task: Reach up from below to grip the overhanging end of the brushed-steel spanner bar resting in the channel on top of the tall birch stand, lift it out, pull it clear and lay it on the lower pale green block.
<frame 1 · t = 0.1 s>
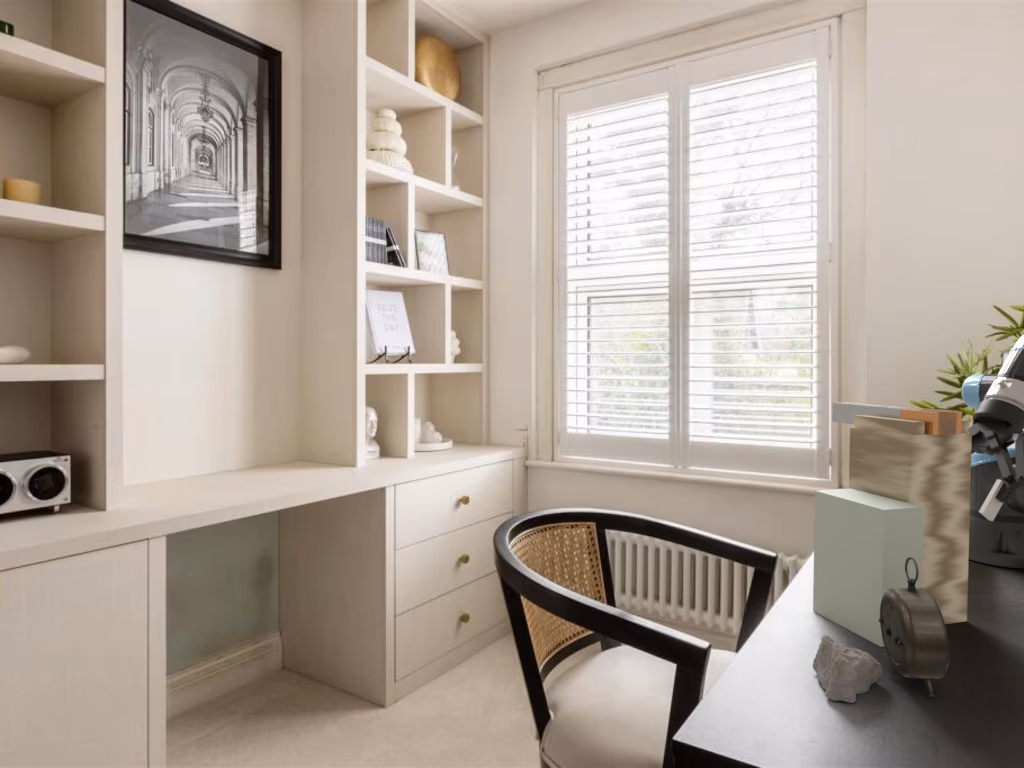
hand: (948, 507, 115), 15 cm above the table, tool tilted 35°, fingers open, 13 cm apart
stone: (844, 689, 83), on the table
alarm clock: (908, 682, 84), on the table
spanner bar: (888, 427, 110), point 30 cm above the table, touching stand
stand: (904, 610, 107), on the table
pale green block: (863, 625, 102), on the table
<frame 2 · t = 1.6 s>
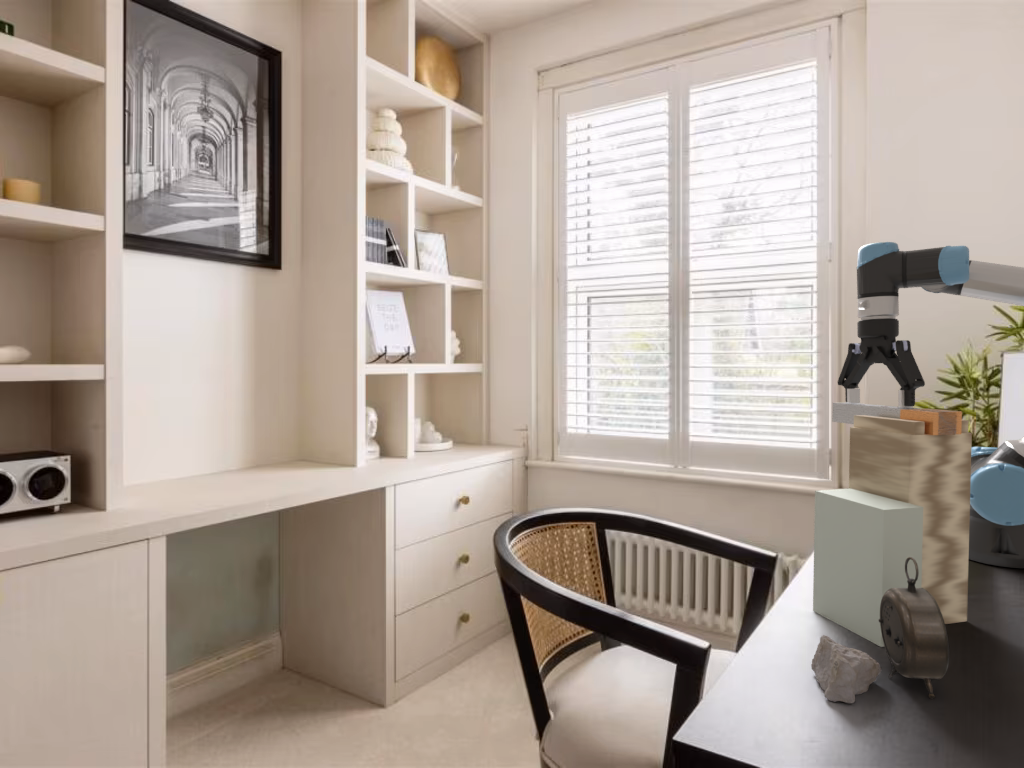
hand: (878, 420, 136), 29 cm above the table, tool pointing down, fingers open, 13 cm apart
nothing on the table moved.
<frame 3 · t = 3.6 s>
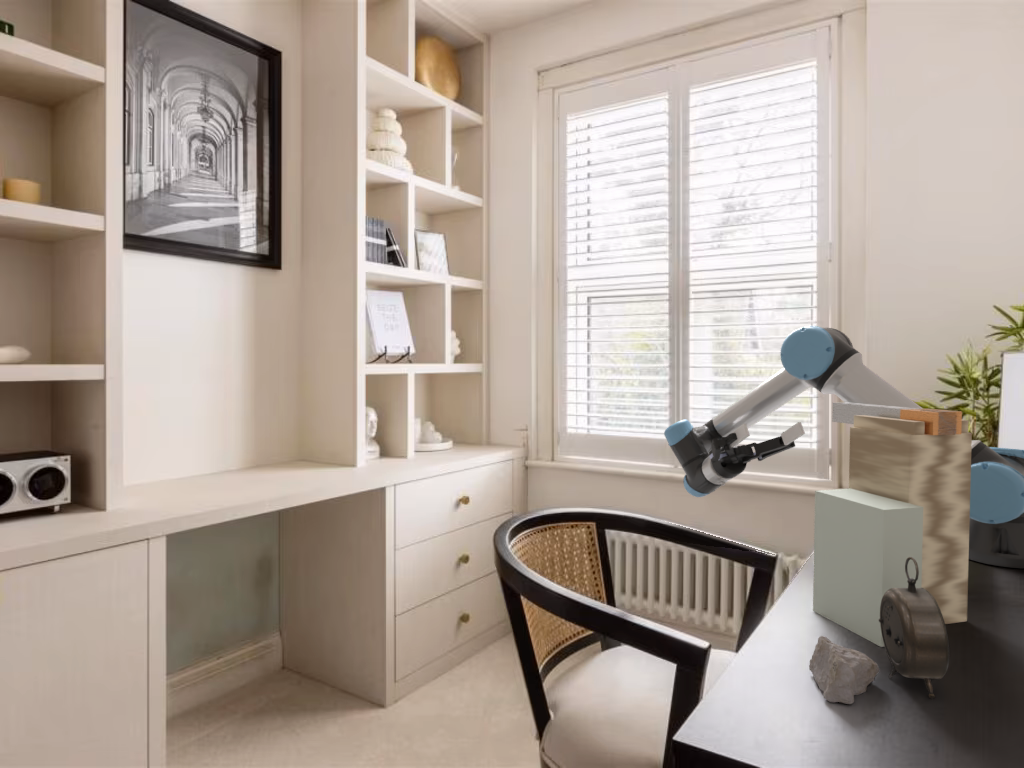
hand: (774, 428, 139), 27 cm above the table, tool pointing upward, fingers open, 13 cm apart
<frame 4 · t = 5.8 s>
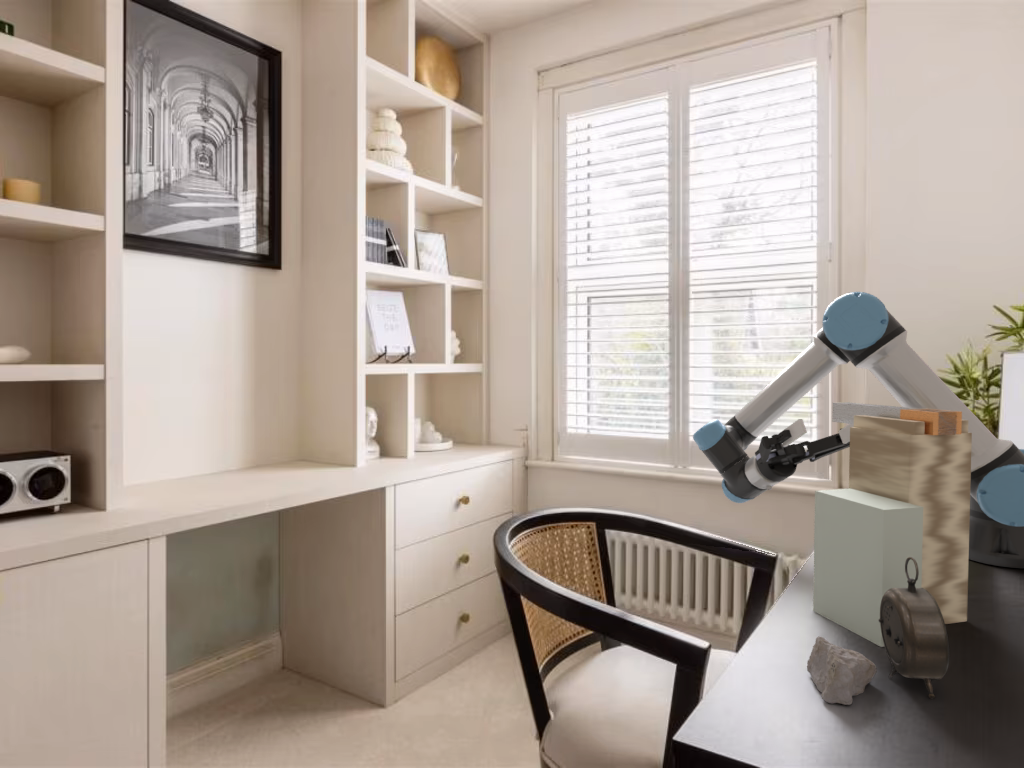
hand: (834, 424, 121), 29 cm above the table, tool pointing upward, fingers open, 13 cm apart
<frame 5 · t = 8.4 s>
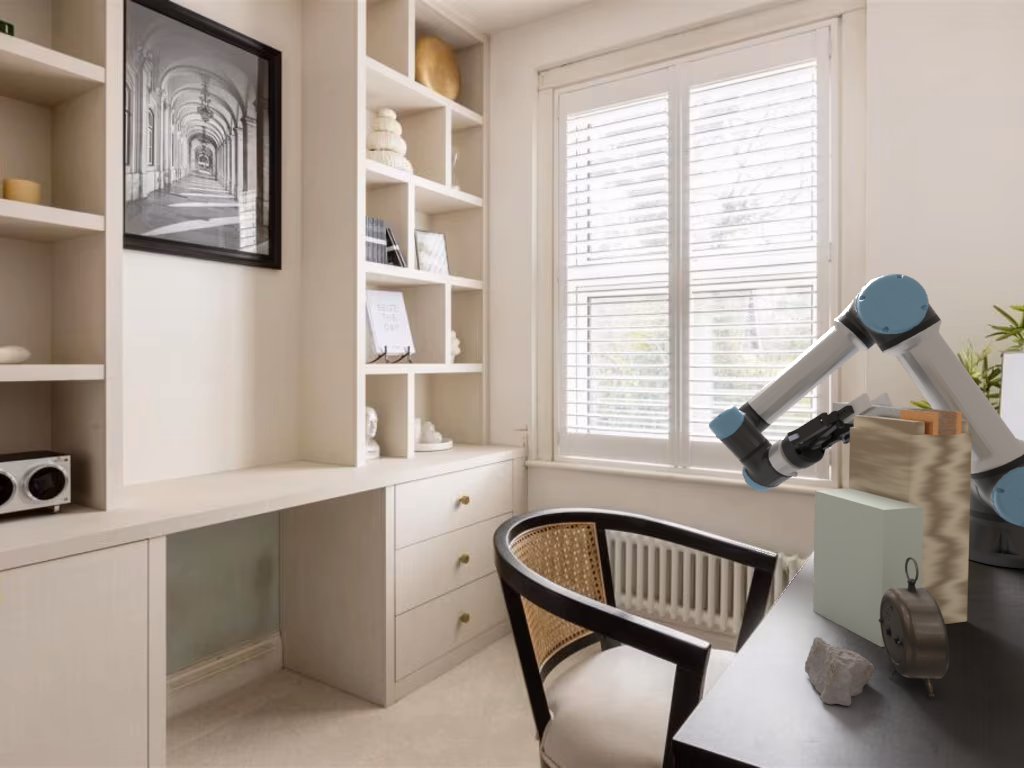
hand: (878, 400, 112), 34 cm above the table, tool pointing upward, fingers closed on spanner bar, 3 cm apart
spanner bar: (888, 427, 110), point 30 cm above the table, touching gripper
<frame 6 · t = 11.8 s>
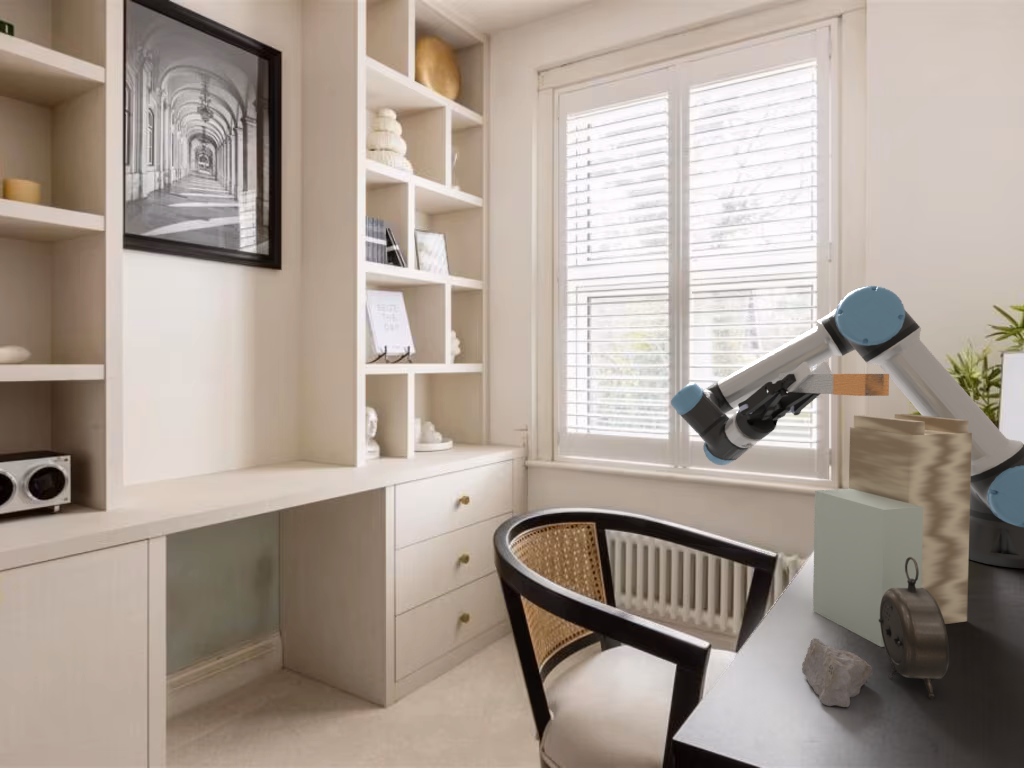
hand: (817, 368, 117), 40 cm above the table, tool pointing upward, fingers closed on spanner bar, 3 cm apart
spanner bar: (826, 393, 115), point 36 cm above the table, touching gripper
when the fingers open (25 cm above the table, at t = 15.5 s): spanner bar drops 1 cm, resting on pale green block.
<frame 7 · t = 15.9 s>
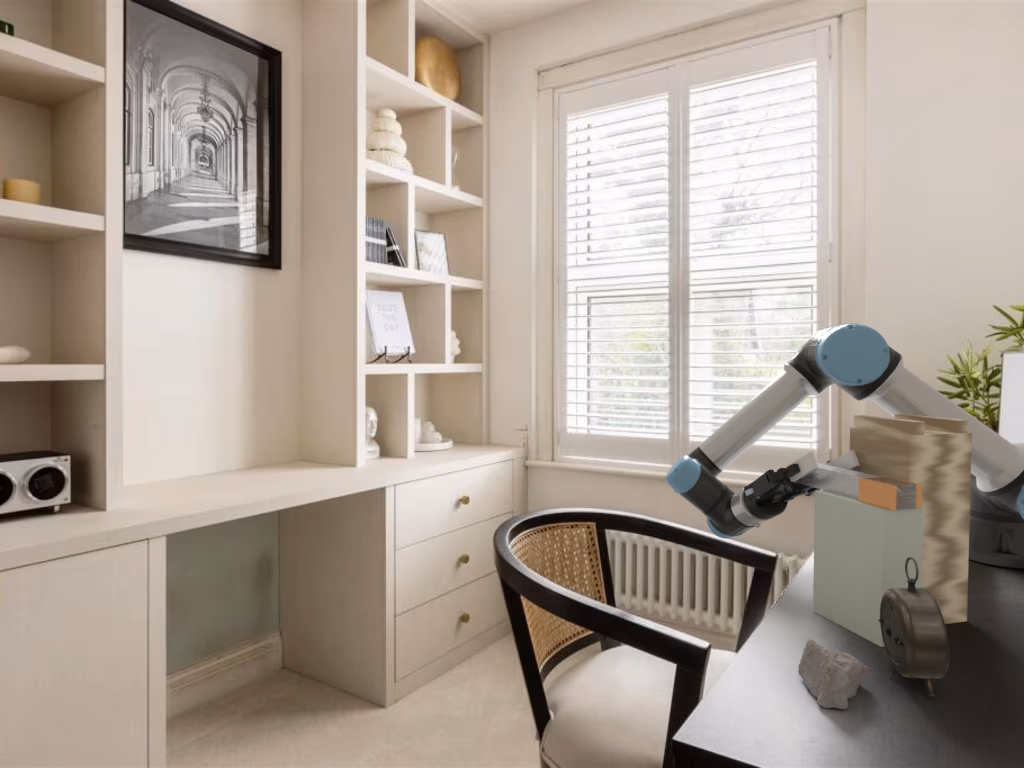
hand: (834, 459, 106), 25 cm above the table, tool pointing upward, fingers open, 7 cm apart
spanner bar: (848, 493, 104), point 20 cm above the table, touching pale green block
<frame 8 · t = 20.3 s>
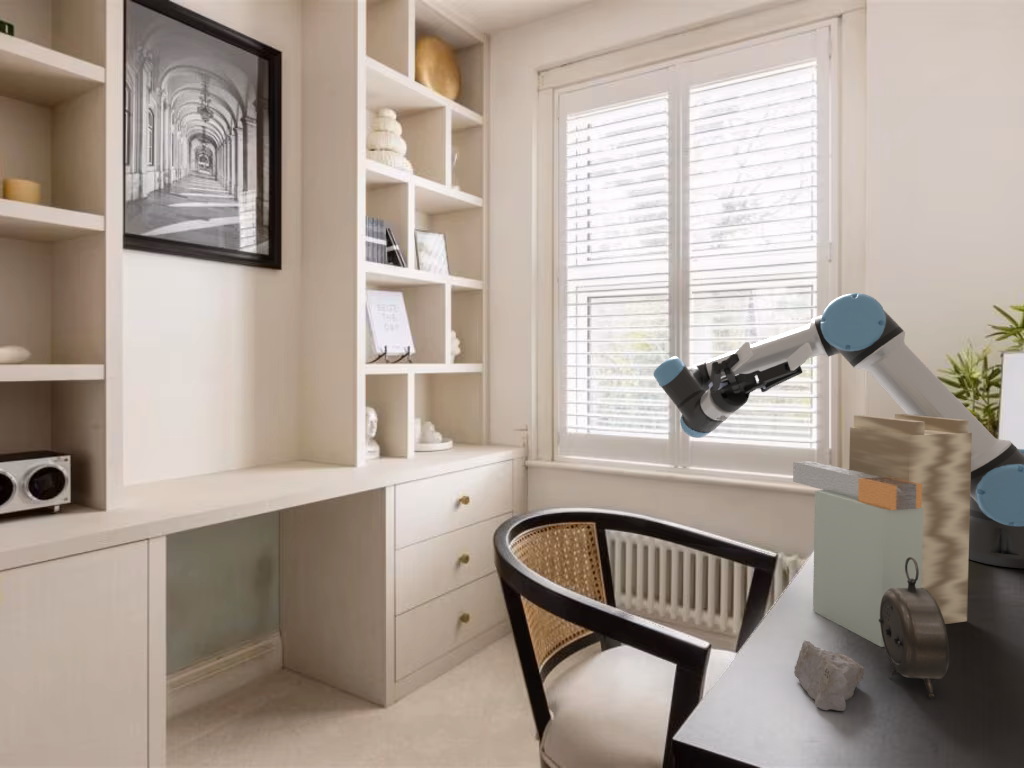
hand: (780, 348, 126), 44 cm above the table, tool pointing upward, fingers open, 13 cm apart
at the end: spanner bar inside the target area on the pale green block (0.6 cm from its centre), point 20.0 cm above the pale green block's base; the gripper is holding nothing; spanner bar touching pale green block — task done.
